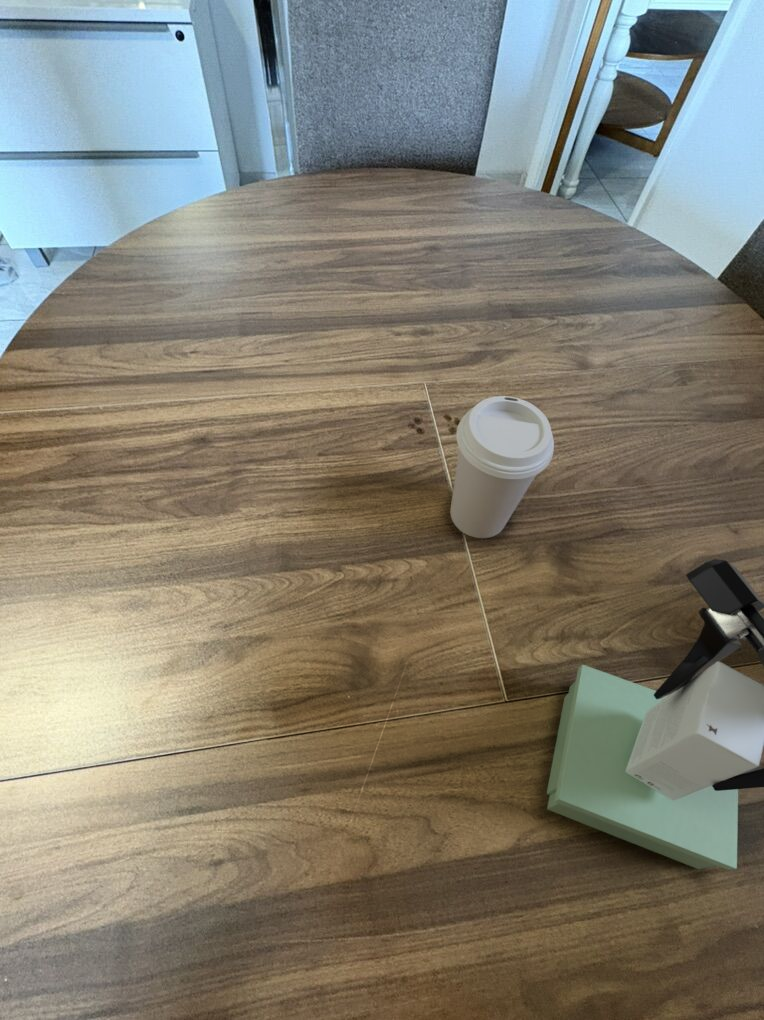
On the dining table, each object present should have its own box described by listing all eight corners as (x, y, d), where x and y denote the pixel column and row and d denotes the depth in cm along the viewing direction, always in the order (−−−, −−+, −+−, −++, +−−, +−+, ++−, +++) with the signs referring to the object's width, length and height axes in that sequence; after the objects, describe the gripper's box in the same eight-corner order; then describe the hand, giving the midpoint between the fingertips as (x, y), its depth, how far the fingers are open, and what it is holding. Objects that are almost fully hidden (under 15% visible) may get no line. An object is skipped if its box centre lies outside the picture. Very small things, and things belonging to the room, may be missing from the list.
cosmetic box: (674, 803, 49) (760, 770, 39) (623, 772, 50) (693, 733, 40) (694, 736, 52) (778, 690, 42) (645, 708, 53) (716, 657, 43)
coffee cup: (532, 504, 72) (574, 416, 59) (498, 564, 67) (537, 481, 54) (459, 469, 74) (485, 376, 62) (422, 524, 69) (442, 435, 57)
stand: (710, 735, 58) (739, 720, 54) (704, 874, 51) (737, 869, 47) (564, 682, 60) (582, 664, 56) (540, 809, 53) (558, 799, 49)
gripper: (786, 488, 37) (575, 622, 43) (1078, 801, 28) (754, 915, 34) (802, 522, 46) (623, 630, 52) (1029, 770, 36) (777, 866, 43)
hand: (683, 740), depth 45 cm, fingers closed on cosmetic box, 6 cm apart
